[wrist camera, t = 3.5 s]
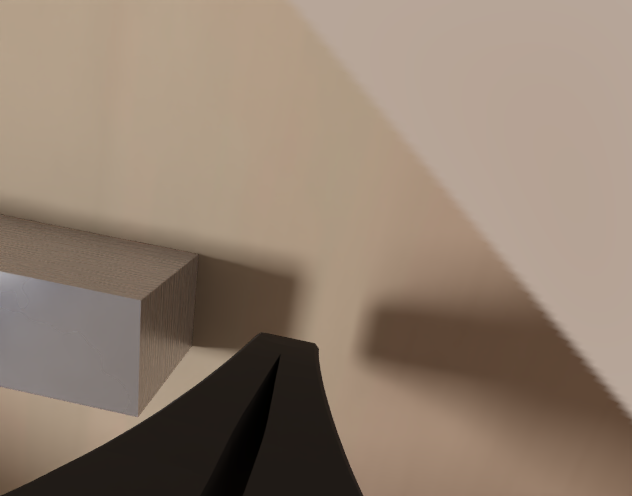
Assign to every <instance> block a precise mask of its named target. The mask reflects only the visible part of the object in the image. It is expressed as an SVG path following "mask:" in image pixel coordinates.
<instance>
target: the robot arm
mask: <svg viewBox="0 0 632 496" xmlns="http://www.w3.org/2000/svg"><path fill="white" fill-rule="evenodd" d="M1 496H363V494H362V492H361V490H360V488H359V485H358V483H357V481H356V479H355V476H354V474H353V472H352V469H351V467H350V464H349V462H348V459H347V457H346V454H345V452H344V449H343V446H342V444H341V441H340V438H339V435H338V433H337V430H336V427H335V424H334V421H333V418H332V414H331V411H330V407H329V404H328V401H327V397H326V394H325V390H324V385H323V381H322V376H321V371H320V364H319V349H318V347H317V346H316V344H315V343H311V342H306V341H301V340H296V339H291V338H287V337H282V336H277V335H272V334H267V333H263V332H261V333H260V334H258V335H256V336H255V337H254V338H253V339H252V340H251V341H250V342H249V343H248V344H246V345H245V346H244V347H243V348H242V349H241V350H240V351H238V352H237V353H236V354H235V355H234V356H233V357H231V358H230V359H229V360H228V361H227V362H225V363H224V364H223V365H222V366H220V367H219V368H218V369H217V370H215V371H214V372H213V373H211V374H210V375H209V376H208V377H206V378H205V379H204V380H203V381H201V382H200V383H199V384H197V385H196V386H195V387H193V388H192V389H190V390H189V391H187V392H186V393H185V394H183V395H182V396H180V397H179V398H177V399H176V400H174V401H173V402H172V403H170V404H169V405H167V406H166V407H164V408H163V409H161V410H160V411H158V412H157V413H155V414H154V415H152V416H151V417H149V418H148V419H146V420H144V421H143V422H141V423H140V424H138V425H136V426H135V427H133V428H131V429H130V430H128V431H126V432H124V433H123V434H121V435H119V436H118V437H116V438H114V439H113V440H111V441H109V442H107V443H106V444H104V445H102V446H100V447H98V448H96V449H94V450H93V451H91V452H89V453H87V454H85V455H83V456H81V457H79V458H77V459H75V460H73V461H71V462H69V463H67V464H65V465H63V466H61V467H59V468H57V469H55V470H53V471H51V472H49V473H48V474H46V475H44V476H42V477H40V478H38V479H36V480H34V481H32V482H30V483H28V484H25V485H23V486H21V487H19V488H17V489H15V490H13V491H10V492H8V493H6V494H4V495H1Z"/></svg>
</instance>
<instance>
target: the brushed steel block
mask: <svg viewBox="0 0 632 496" xmlns="http://www.w3.org/2000/svg"><path fill="white" fill-rule="evenodd" d="M198 256H199V254H196V253H191V252H186V251H181V250H176V249H171V248H166V247H161V246H156V245H151V244H146V243H141V242H136V241H131V240H126V239H120V238H115V237H110V236H105V235H100V234H95V233H90V232H85V231H80V230H75V229H70V228H65V227H60V226H55V225H50V224H45V223H40V222H35V221H30V220H25V219H20V218H15V217H10V216H5V215H0V387H4V388H9V389H13V390H18V391H22V392H27V393H31V394H36V395H40V396H45V397H49V398H54V399H58V400H63V401H67V402H72V403H77V404H81V405H86V406H90V407H95V408H99V409H104V410H108V411H113V412H117V413H122V414H126V415H131V416H135V417H138V416H139V415H140V414H141V413H142V411H143V410H144V409H145V407H146V406H147V405H148V403H149V402H150V401H151V399H152V398H153V397H154V395H155V394H156V393H157V391H158V390H159V389H160V387H161V386H162V385H163V383H164V382H165V381H166V379H167V378H168V377H169V376H170V374H171V373H172V372H173V370H174V369H175V368H176V366H177V365H178V364H179V362H180V361H181V360H182V358H183V357H184V356H185V354H186V353H187V352H188V350H189V349H190V348H191V346H192V337H193V324H194V310H195V297H196V283H197V270H198Z"/></svg>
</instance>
